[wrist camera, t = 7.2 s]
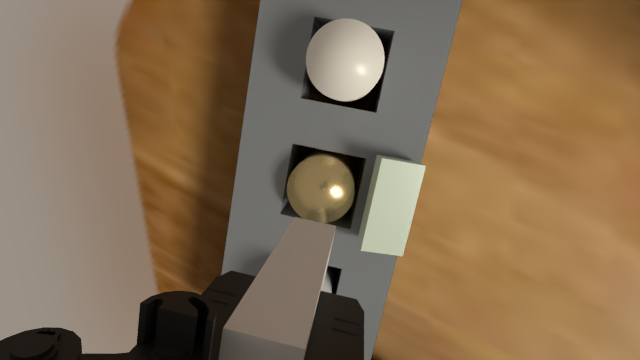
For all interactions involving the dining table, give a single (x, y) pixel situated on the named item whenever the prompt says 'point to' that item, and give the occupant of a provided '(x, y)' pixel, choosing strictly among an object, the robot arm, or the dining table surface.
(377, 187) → the block
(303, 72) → the console
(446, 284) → the dining table surface
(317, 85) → the white rounded piece
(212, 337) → the robot arm
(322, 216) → the brass button
